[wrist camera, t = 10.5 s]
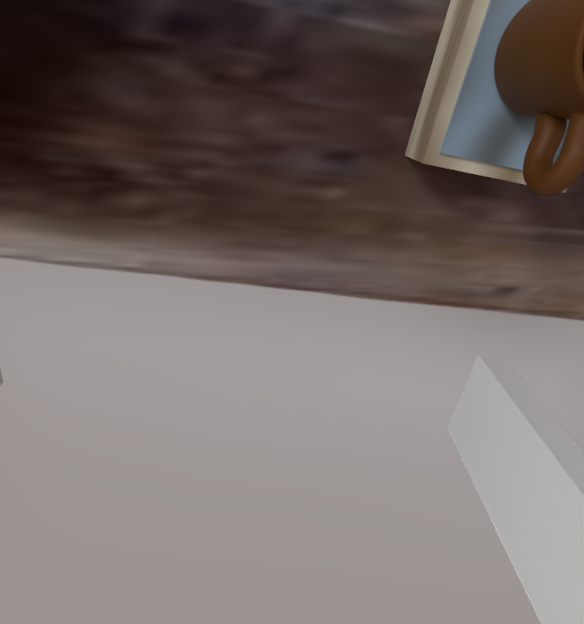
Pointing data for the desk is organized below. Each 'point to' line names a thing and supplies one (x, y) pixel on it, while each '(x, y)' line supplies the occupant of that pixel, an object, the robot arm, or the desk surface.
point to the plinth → (471, 98)
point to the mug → (546, 88)
